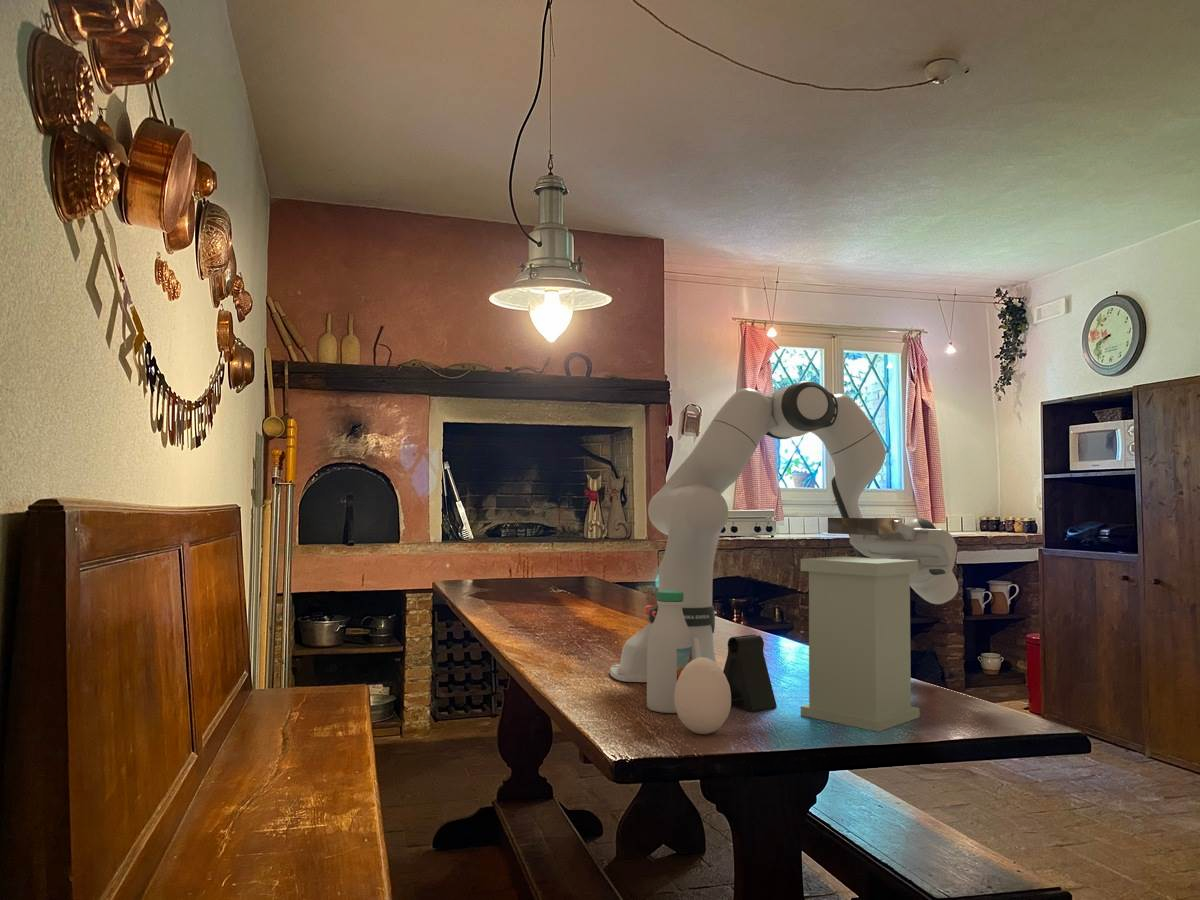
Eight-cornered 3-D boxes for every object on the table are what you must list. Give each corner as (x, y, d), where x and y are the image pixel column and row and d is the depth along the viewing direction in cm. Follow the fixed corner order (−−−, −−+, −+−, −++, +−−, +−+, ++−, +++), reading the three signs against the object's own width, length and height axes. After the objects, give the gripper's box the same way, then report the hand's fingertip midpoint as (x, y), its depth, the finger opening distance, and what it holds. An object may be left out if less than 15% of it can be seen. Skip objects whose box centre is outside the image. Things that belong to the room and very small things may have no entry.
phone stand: (776, 708, 149) (776, 638, 150) (752, 712, 146) (752, 640, 146) (739, 698, 156) (739, 631, 157) (715, 702, 153) (715, 634, 154)
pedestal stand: (843, 702, 154) (843, 556, 156) (919, 717, 144) (917, 560, 146) (800, 715, 144) (800, 558, 146) (878, 731, 134) (877, 563, 136)
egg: (671, 726, 136) (672, 652, 137) (726, 726, 136) (726, 653, 137) (677, 740, 127) (677, 662, 128) (735, 741, 128) (735, 663, 128)
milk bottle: (661, 716, 142) (662, 593, 144) (638, 706, 149) (639, 589, 150) (700, 711, 146) (701, 592, 147) (676, 702, 153) (677, 588, 154)
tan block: (874, 532, 175) (874, 517, 175) (917, 533, 169) (917, 518, 169) (827, 533, 162) (827, 517, 163) (872, 535, 156) (871, 518, 156)
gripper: (870, 541, 186) (841, 508, 178) (965, 545, 171) (938, 510, 163) (862, 567, 183) (833, 535, 175) (959, 573, 168) (931, 539, 160)
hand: (884, 523), depth 169 cm, fingers closed on tan block, 3 cm apart
